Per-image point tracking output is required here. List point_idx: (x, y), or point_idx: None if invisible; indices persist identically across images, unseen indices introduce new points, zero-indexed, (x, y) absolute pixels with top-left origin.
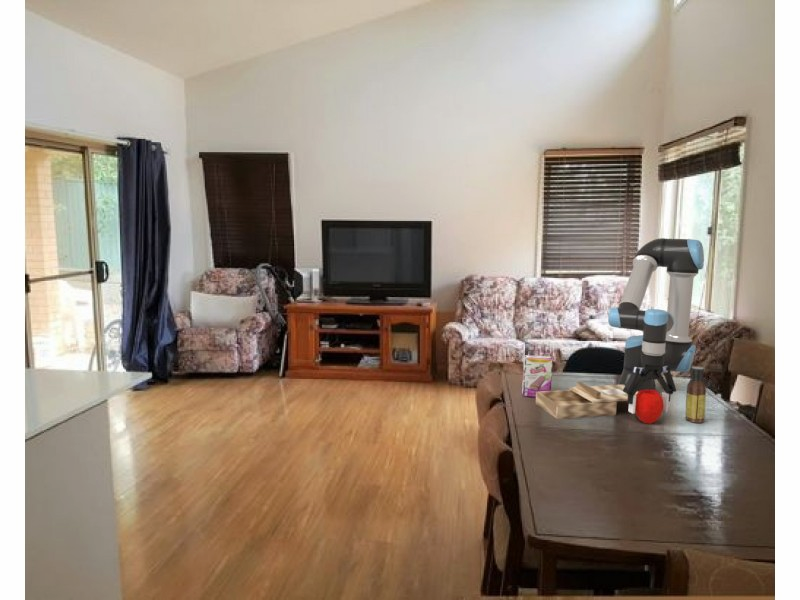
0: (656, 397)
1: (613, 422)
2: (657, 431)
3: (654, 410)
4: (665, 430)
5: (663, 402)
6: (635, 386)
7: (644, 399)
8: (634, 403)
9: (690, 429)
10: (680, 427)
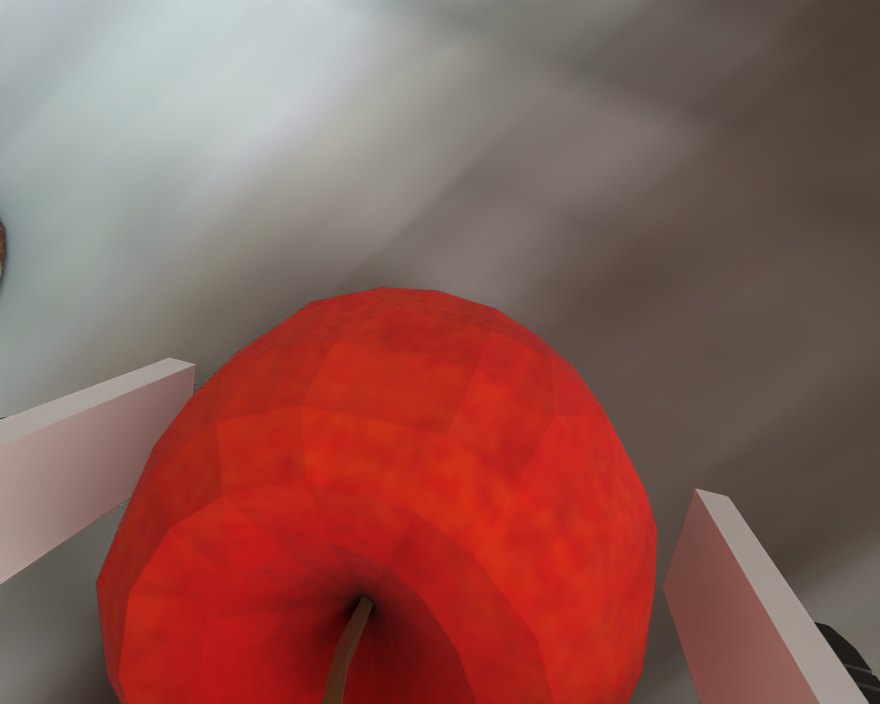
0: (381, 412)
1: (838, 575)
2: (598, 143)
3: (496, 315)
4: (474, 133)
5: (113, 466)
6: None
7: (628, 535)
8: (775, 589)
9: (168, 48)
10: (226, 144)
